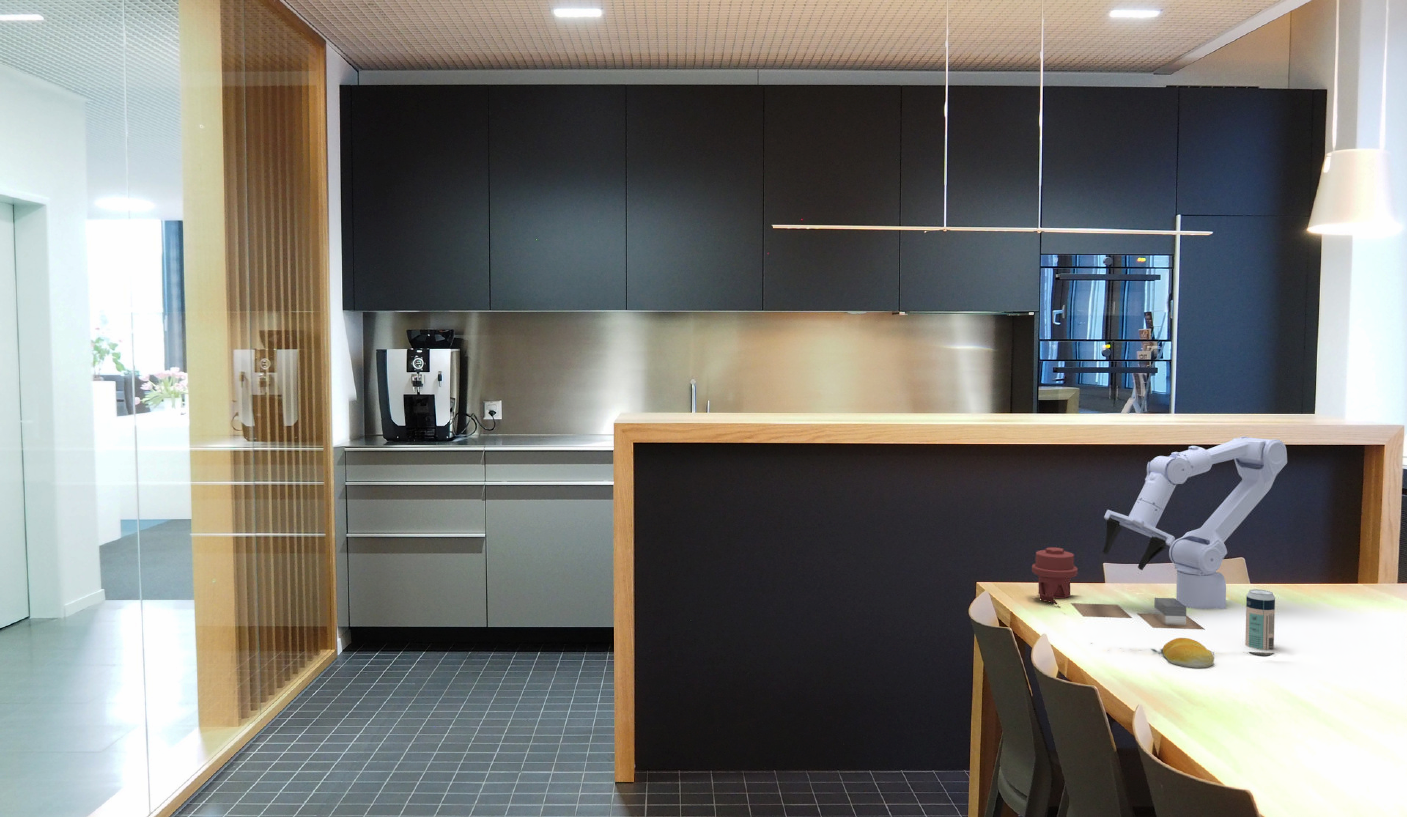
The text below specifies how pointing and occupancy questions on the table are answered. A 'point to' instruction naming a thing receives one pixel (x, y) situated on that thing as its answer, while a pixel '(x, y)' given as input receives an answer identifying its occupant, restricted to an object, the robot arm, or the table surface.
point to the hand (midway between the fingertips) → (1122, 561)
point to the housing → (1170, 611)
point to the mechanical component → (1054, 573)
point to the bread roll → (1187, 653)
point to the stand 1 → (1101, 610)
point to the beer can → (1260, 621)
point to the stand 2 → (1158, 624)
